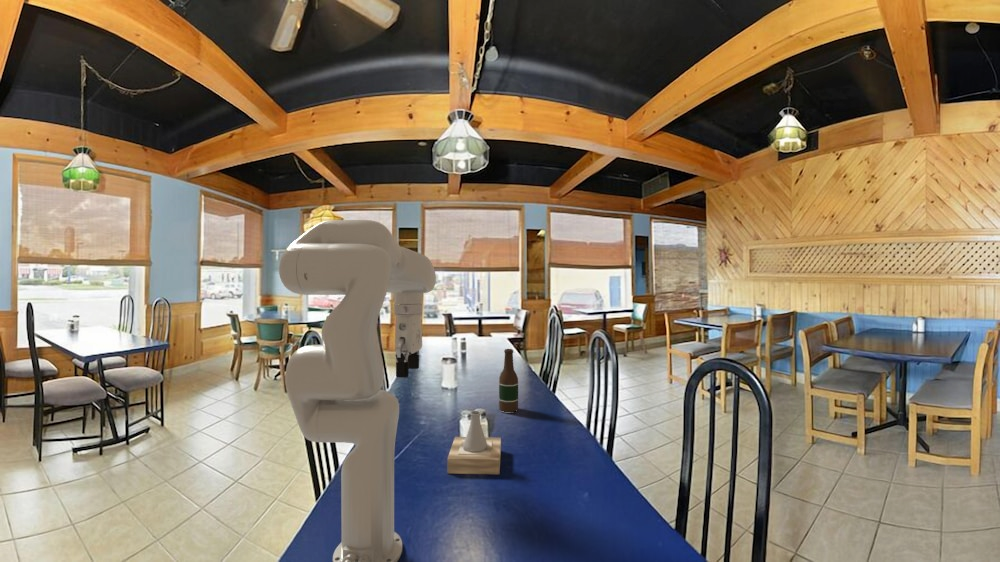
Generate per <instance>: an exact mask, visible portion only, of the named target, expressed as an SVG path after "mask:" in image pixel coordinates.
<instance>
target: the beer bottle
mask: <svg viewBox="0 0 1000 562" xmlns="http://www.w3.org/2000/svg"><path fill="white" fill-rule="evenodd" d="M503 352H504V360H503V361H504V364H503V370H502V371H501V372H500V375H499V377H498V378H499V379H498V380H499V381H498V407H499V408H498V409H499V411H500V410H501V411H504V412H514V411H516V410H518V411H519V379H518V376H517V375H518V374H517V373H516V371H515V369H514V368H515V367H514V355H513V354H514V350H513V349H512V348H505V349H504V351H503Z"/></svg>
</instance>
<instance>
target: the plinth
mask: <svg viewBox="0 0 1000 562" xmlns="http://www.w3.org/2000/svg"><path fill="white" fill-rule="evenodd" d="M465 438H466V436H454V437H453V442H452V444H451V448H450V449H449V453H448V455H447V461H446V462H447V467H446V468H447V469H446V470H447V473H446V474H457V475H458V474H465V475H469V474H470V475H500V473H501V472H500V468H501V453H502V438H501V437H494V436H493V437H487V436H485V439H486V442H487V446H488V447H487V448H486V449H485V450H483V451H478V452H471V451H467V450H464V449H463V444H464V441H465Z"/></svg>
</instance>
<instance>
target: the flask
mask: <svg viewBox="0 0 1000 562" xmlns="http://www.w3.org/2000/svg"><path fill="white" fill-rule="evenodd" d="M481 415H482V413H481V410H471V411H470V412H469V416H470V422H469V426H468V427H469V428H468V430H467V434H466V436H465V437H466V438H465V441H464V444H463V449H464V450H467V451H471V452H478V451H483V450H485V449H486V448H487V447H488V446H487V442H486V439H485V437H486V436H485V433H484V430H483V428H482V423H481Z"/></svg>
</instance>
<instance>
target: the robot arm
mask: <svg viewBox="0 0 1000 562" xmlns="http://www.w3.org/2000/svg"><path fill="white" fill-rule="evenodd" d="M278 274H279V278H280V281H281V283H282V284H283V286H284V287H285V288H286V289H287V290H288V291H290V292H291V293H294V294H298V295H304V296H308V295H309V296H319V295H320V296H338V295H339V296H342V295H344V296H343V298H342V300H341V301H340V302H339V303H338V304H337V306H336V307H334V309H333V310H332V311H331V312H330V313H329V315H328V316H327V317H326V319H325V320H324V322H323V324H322V327H321V333H320V334H321V338H322V343H323V344H308V345H304V346H301V347H299V348H298V349H297V350H296V349H295V351H294V352H293V353H292V354H291V356H290V358H288V362H287V364H286V368H285V375H284V379H285V380H284V383H285V389H286V393H287V396H288V399H289V402H290V405H291V408H292V410H293V413H294V417H295V419H296V422H297V424H298V427H299V430H300V431H301V434H302V436H304V438H305V439H306V440H308V441H309V442H314V443H344V444H346V443H347V444H353V445H354V448H352V450H351V451H350V452H349V453H348V455H347V456H346V458H345V459H344V461H343V463H342V466H341V470H340V473H341V475H340V478H341V479H340V482H341V485H340V486H341V488H340V491H341V492H340V493H341V494H340V496H341V498H340V499H341V503H340V504H341V505H340V507H341V513H340V514H341V516H340V518H341V520H340V521H341V542H340V543H339V544H337V545H338V546H337V547H336V548H335V549H334V552H333V554H332V562H398V561H399V560H400V558H401V555H402V554H403V540H402V537H401V536H400V534H398V533H397V532H396V531H395V447H396V444H395V443H396V438H397V437H396V436H397V429H398V422H399V416H400V404H399V400H398V398H397V397H396V396H395V394H394V393H392V392H389V391H387V390H385V389H384V390H383V389H382V386H383V385H384V380H385V376H384V375H385V372H384V365H383V358H382V353H381V347H380V342H379V335H378V330H377V329H378V328H377V327H378V320H379V316H380V312H381V310H382V308H383V305H384V301H385V299H386V296H387V293H391V294H393V308H394V309H393V316H394V317H396V320H395V321H396V322H395V333H394V334H395V336H394V338H395V339H394V343H395V344H394V346H395V349H394V350H395V378H408V377H409V369H410V370H418V369H419V367H420V350H421V349H422V348H423V330H422V329H423V328H422V318H421V317H422V316H423V294H426V293H427V294H428V293H430V292H432V291H433V290H434V288H435V286H436V281H437V275H436V274H437V273H436V270H435V267H434V265H433V263H432V262H431V260H430V258H429V257H427V256H426V255H425V254H422V253H420V252H417V251H414V250H412V249H410V248H407V247H404V246H401V245H400V244H399V243H398V241H397V240H396V238H395V237H394V236H393V234H392V233H391V231H390V230H389V229H388V228H387V226H385V225H384V224H383V223H381V222H379V221H375V220H369V219H329V220H328V219H327V220H325V221H321V222H319V223H317V224H316V225H314V226H313V227H311V228H309V229H308V230H307V231H305V232H304V233H303V234H301V235H300V236H299V237H298V238H297V239H295V240H293V242H292V243H290V244H289V245H288V246H287V247H286V249H285V250H284V252H283V253H282V256H281V257H280V260H279V266H278Z"/></svg>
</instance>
